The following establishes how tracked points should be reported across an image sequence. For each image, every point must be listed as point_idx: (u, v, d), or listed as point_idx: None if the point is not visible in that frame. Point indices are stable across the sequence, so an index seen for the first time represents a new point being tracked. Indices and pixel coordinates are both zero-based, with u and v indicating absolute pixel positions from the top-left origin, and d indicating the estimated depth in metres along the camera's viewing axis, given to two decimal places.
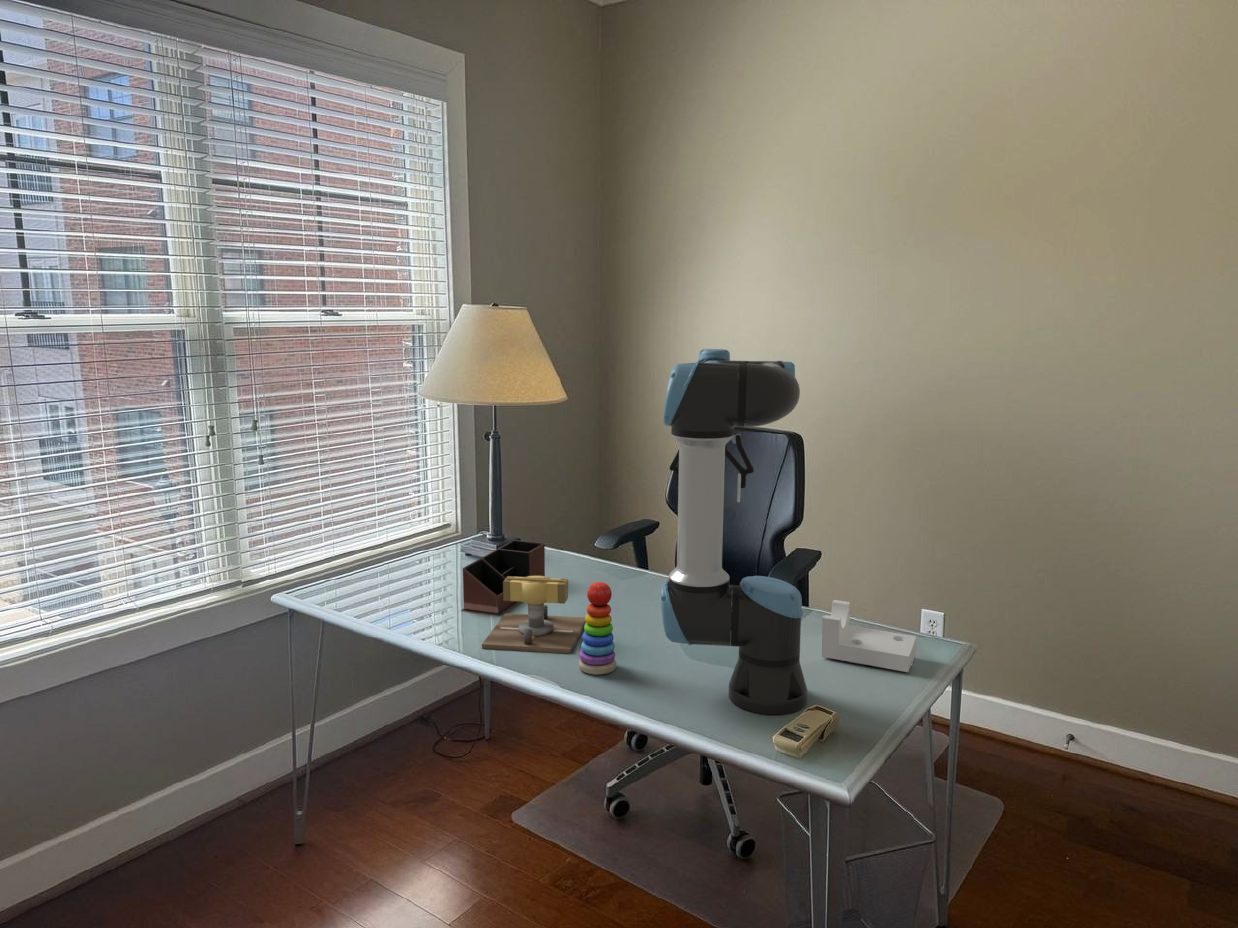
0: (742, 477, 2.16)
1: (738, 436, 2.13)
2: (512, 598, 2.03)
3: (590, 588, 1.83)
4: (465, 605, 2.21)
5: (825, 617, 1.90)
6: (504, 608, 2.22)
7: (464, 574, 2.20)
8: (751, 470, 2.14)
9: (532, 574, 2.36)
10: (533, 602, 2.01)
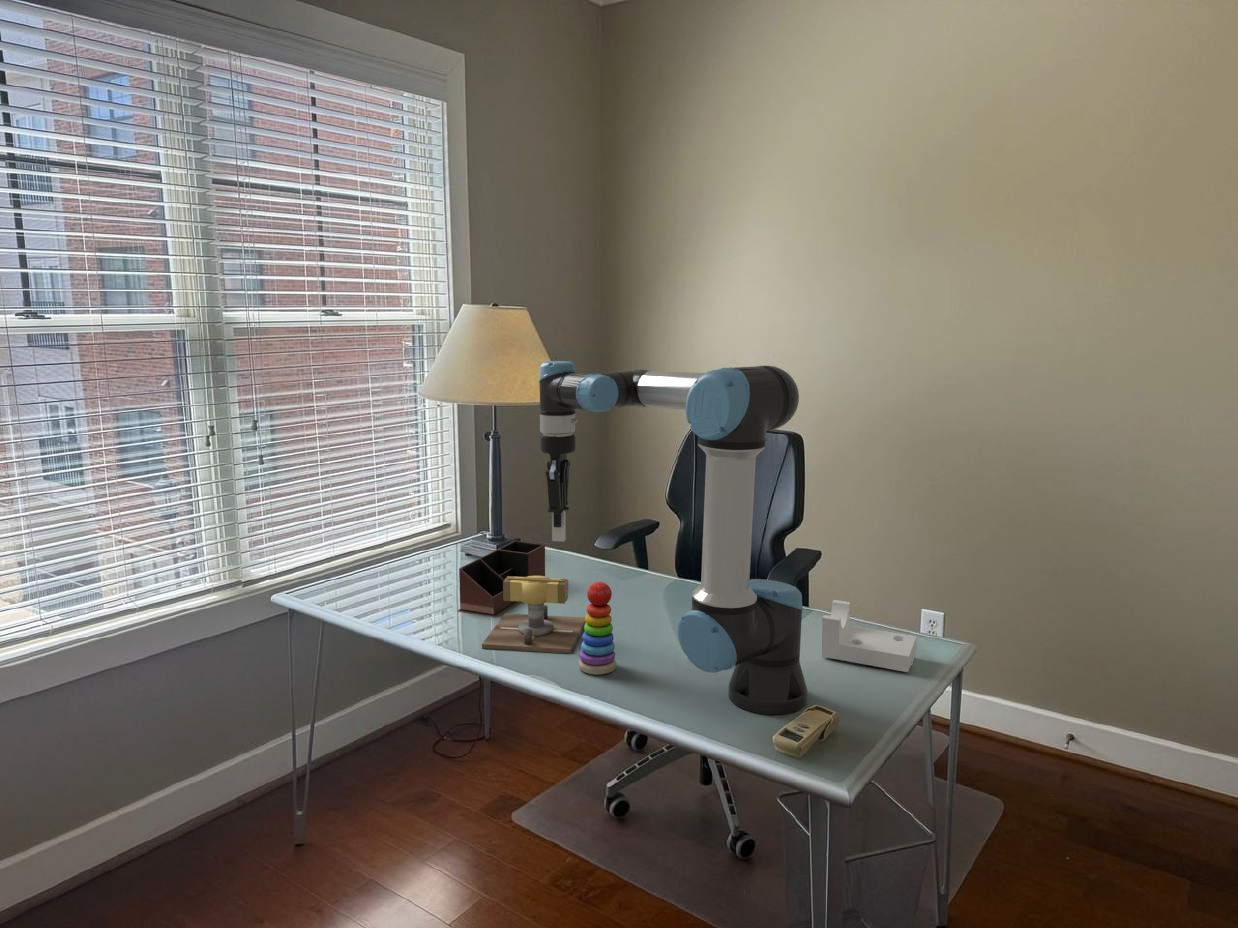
0: None
1: (546, 472, 1.87)
2: (512, 598, 2.03)
3: (590, 588, 1.83)
4: (461, 605, 2.21)
5: (825, 617, 1.90)
6: (500, 609, 2.21)
7: (460, 574, 2.19)
8: None
9: (531, 575, 2.35)
10: (533, 602, 2.01)
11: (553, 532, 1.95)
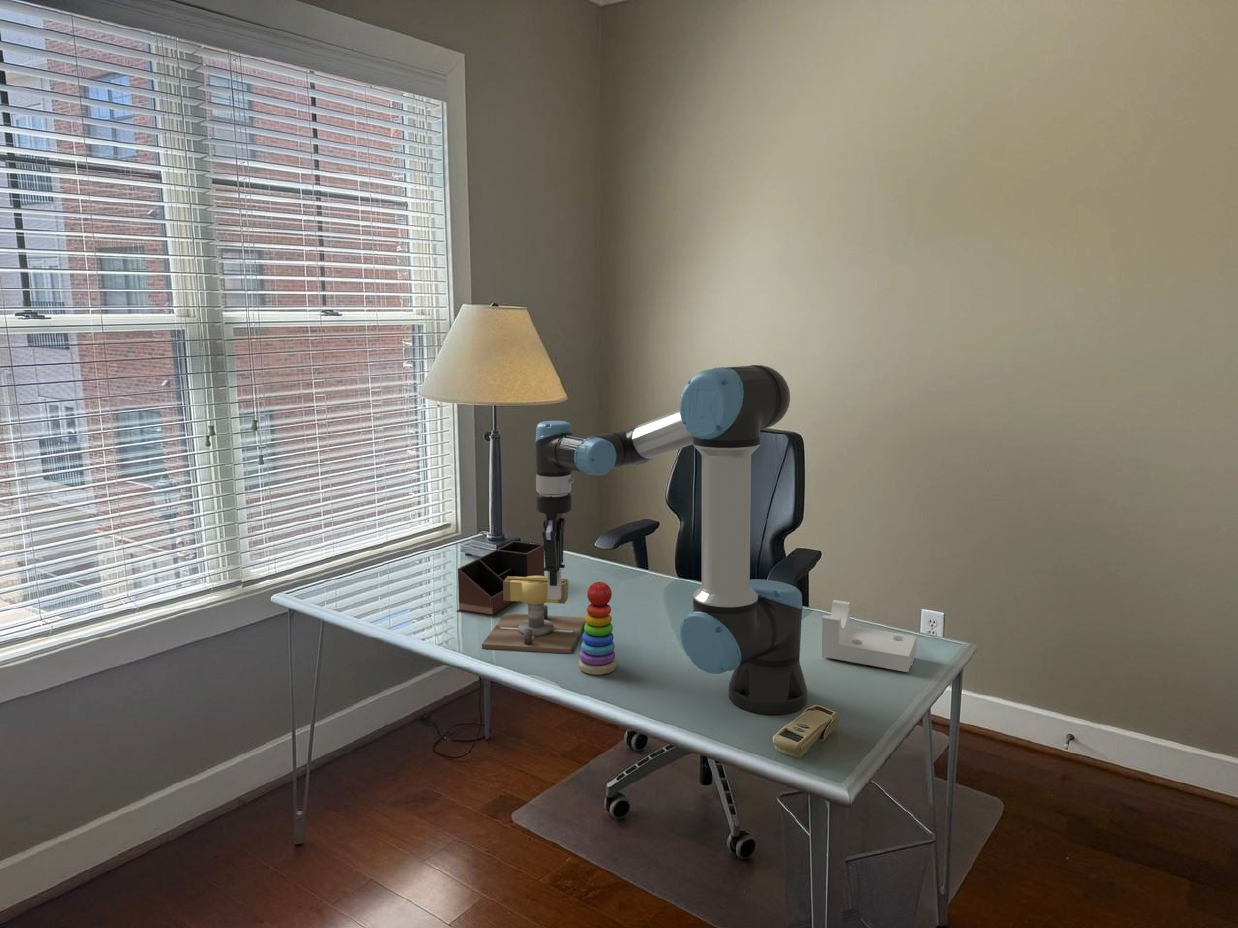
0: None
1: (542, 533, 1.87)
2: (512, 598, 2.03)
3: (590, 588, 1.83)
4: (460, 606, 2.20)
5: (825, 617, 1.90)
6: (499, 609, 2.21)
7: (459, 575, 2.19)
8: None
9: (530, 575, 2.35)
10: (533, 602, 2.01)
11: (549, 590, 1.95)
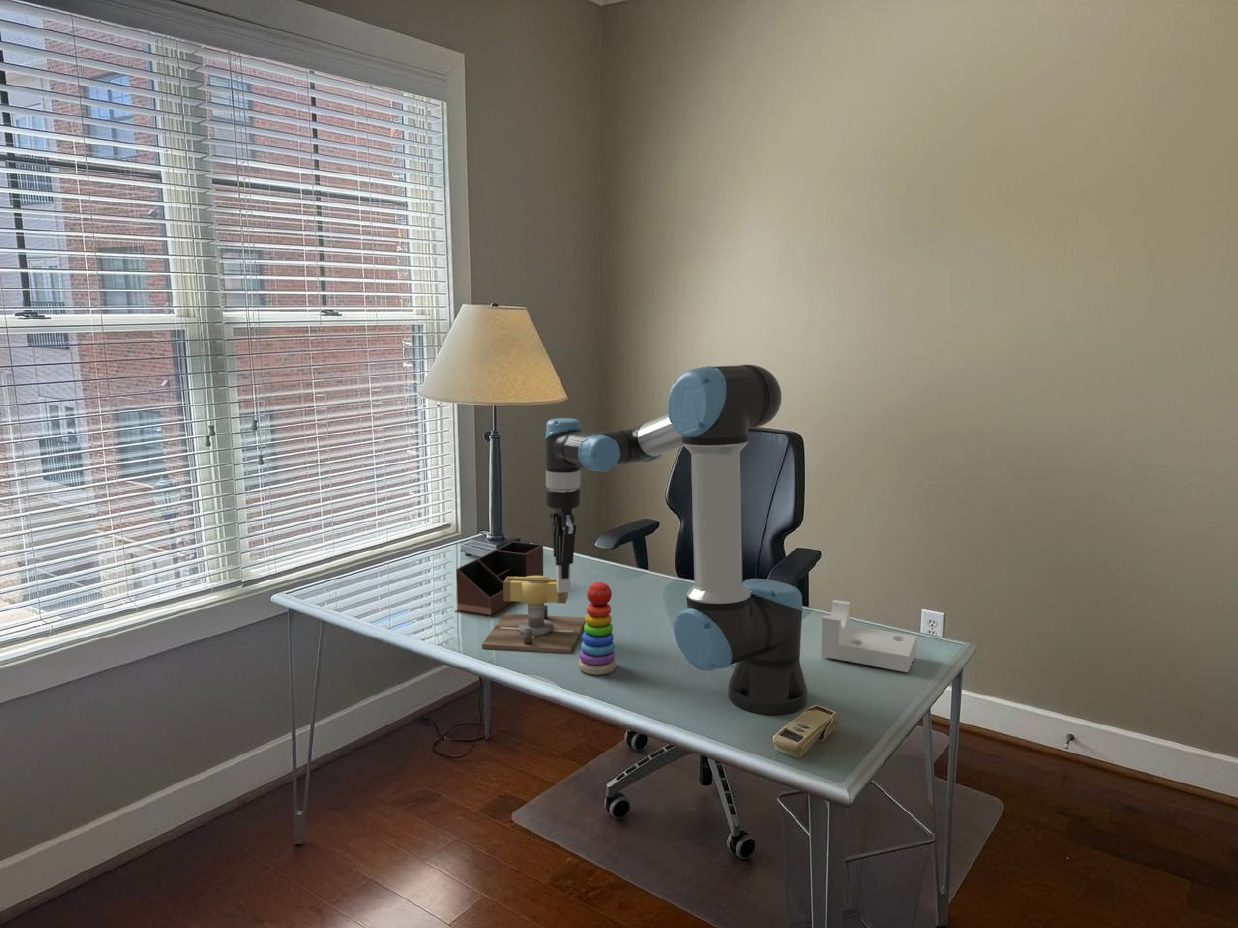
0: (561, 567, 1.99)
1: (565, 527, 1.92)
2: (512, 598, 2.03)
3: (590, 588, 1.83)
4: (459, 606, 2.20)
5: (825, 617, 1.90)
6: (498, 610, 2.20)
7: (458, 575, 2.19)
8: (561, 562, 1.96)
9: None
10: (534, 602, 2.01)
11: (559, 584, 2.00)
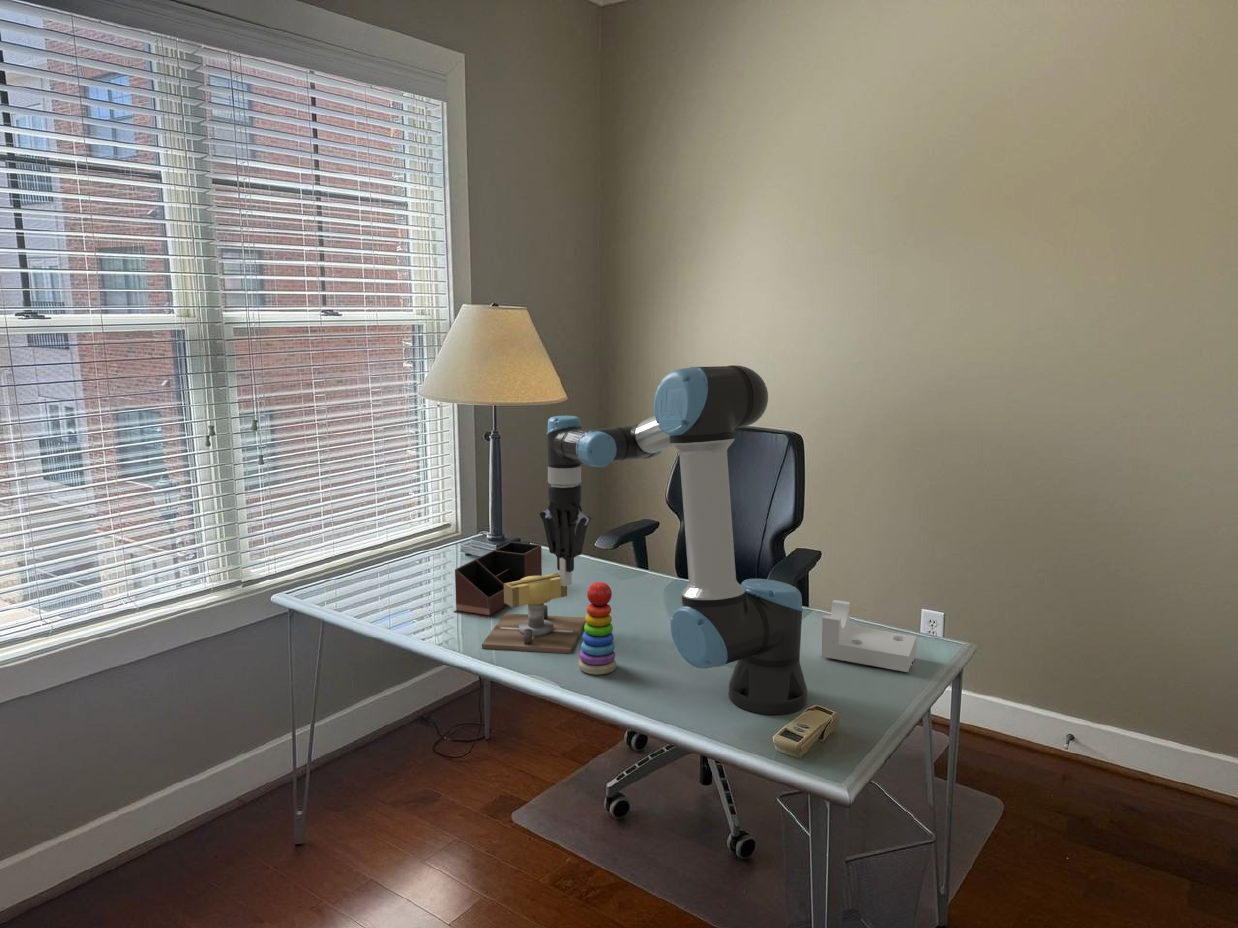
0: (567, 560, 2.04)
1: (583, 520, 1.99)
2: (520, 603, 2.00)
3: (590, 588, 1.83)
4: (457, 606, 2.20)
5: (825, 617, 1.90)
6: (496, 610, 2.20)
7: (456, 575, 2.18)
8: (573, 554, 2.02)
9: None
10: (544, 601, 2.02)
11: (565, 578, 2.05)
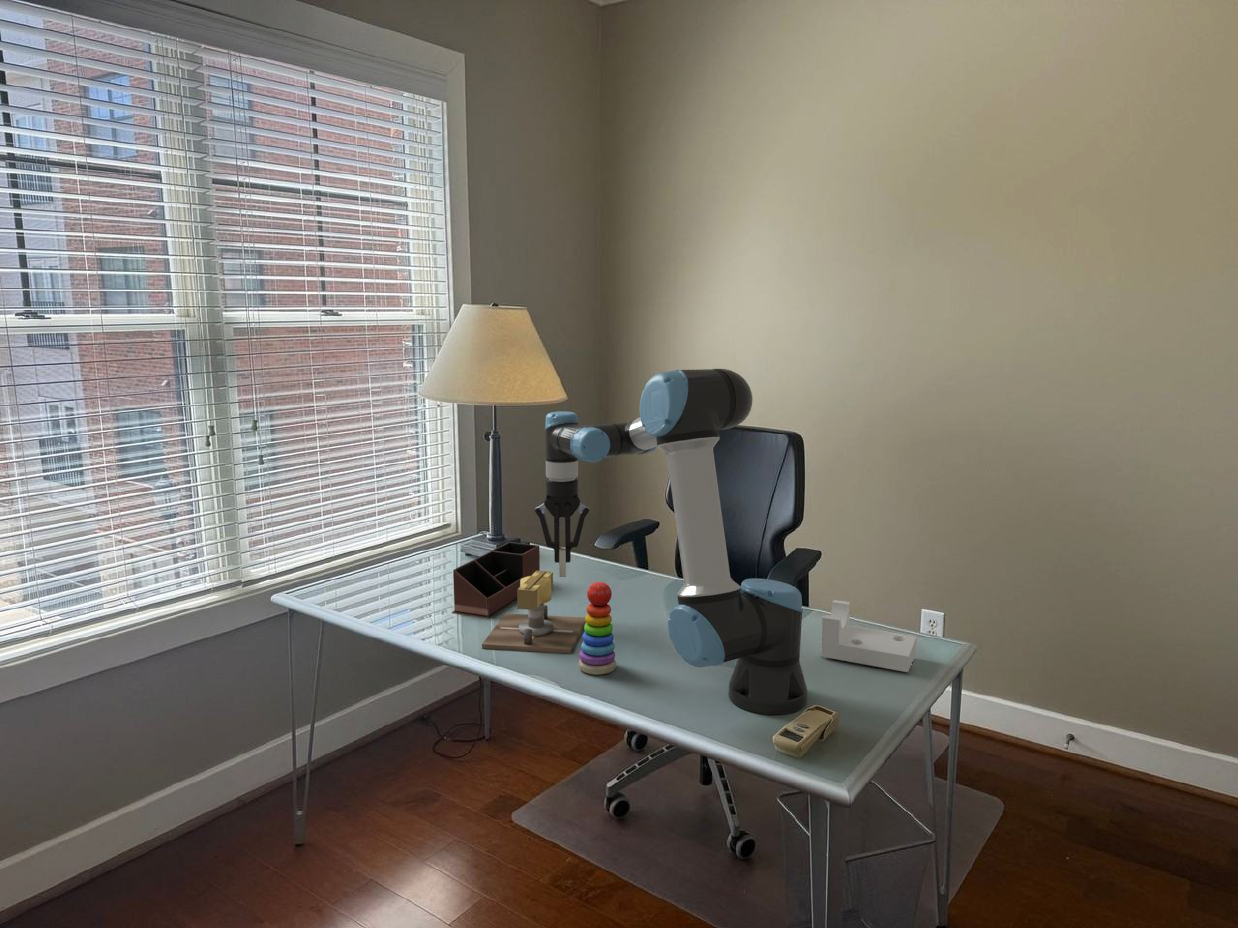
0: (567, 551, 2.11)
1: (587, 510, 2.08)
2: (537, 604, 1.99)
3: (590, 588, 1.83)
4: (456, 607, 2.19)
5: (825, 617, 1.90)
6: (495, 610, 2.20)
7: (454, 576, 2.18)
8: (576, 544, 2.10)
9: (526, 576, 2.34)
10: (550, 598, 2.04)
11: (565, 568, 2.11)
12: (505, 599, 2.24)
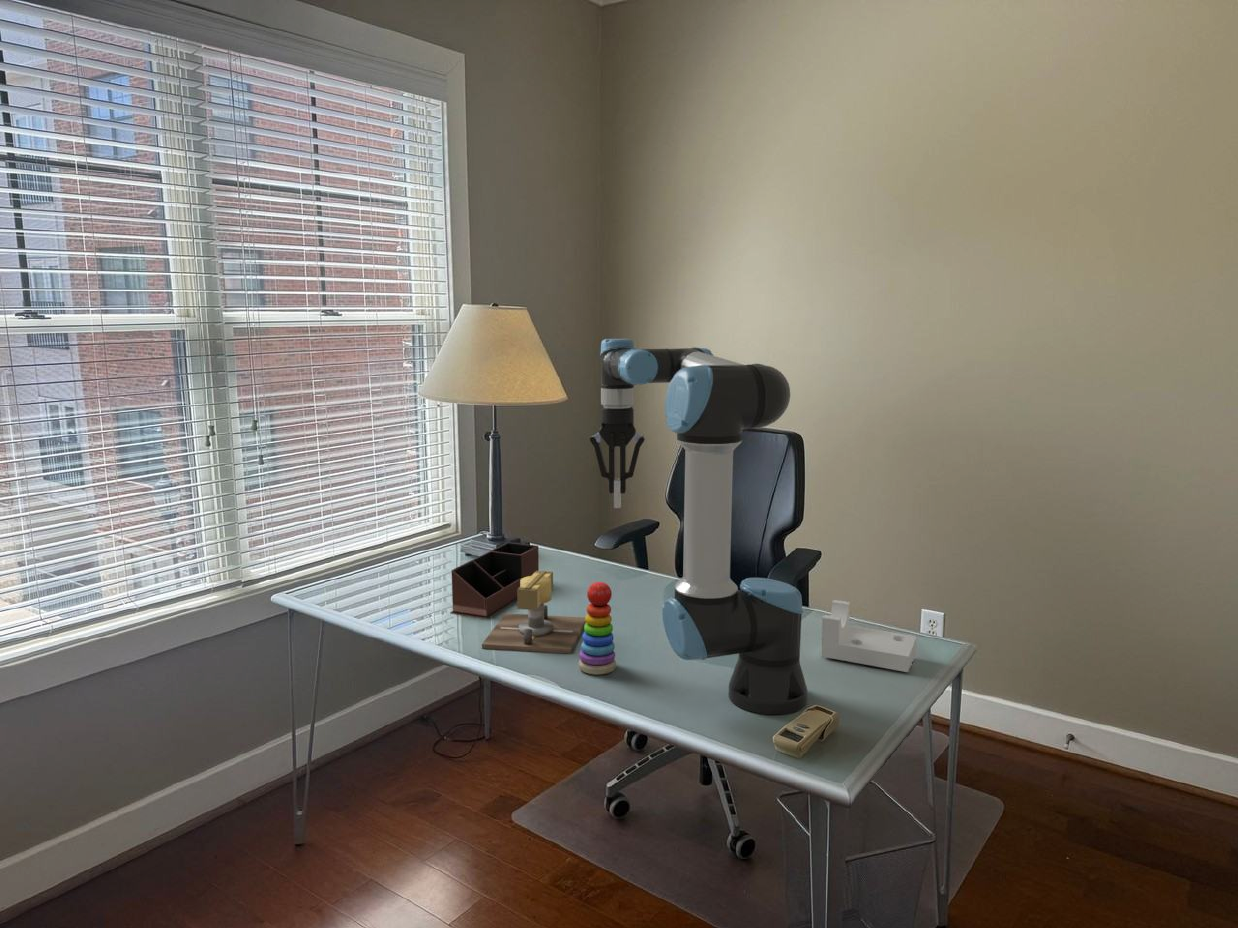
0: (622, 482, 2.07)
1: (642, 439, 2.05)
2: (537, 604, 1.99)
3: (590, 588, 1.83)
4: (454, 607, 2.19)
5: (825, 617, 1.90)
6: (493, 611, 2.19)
7: (453, 576, 2.18)
8: (631, 475, 2.06)
9: None
10: (550, 598, 2.04)
11: (620, 499, 2.08)
12: (504, 600, 2.24)
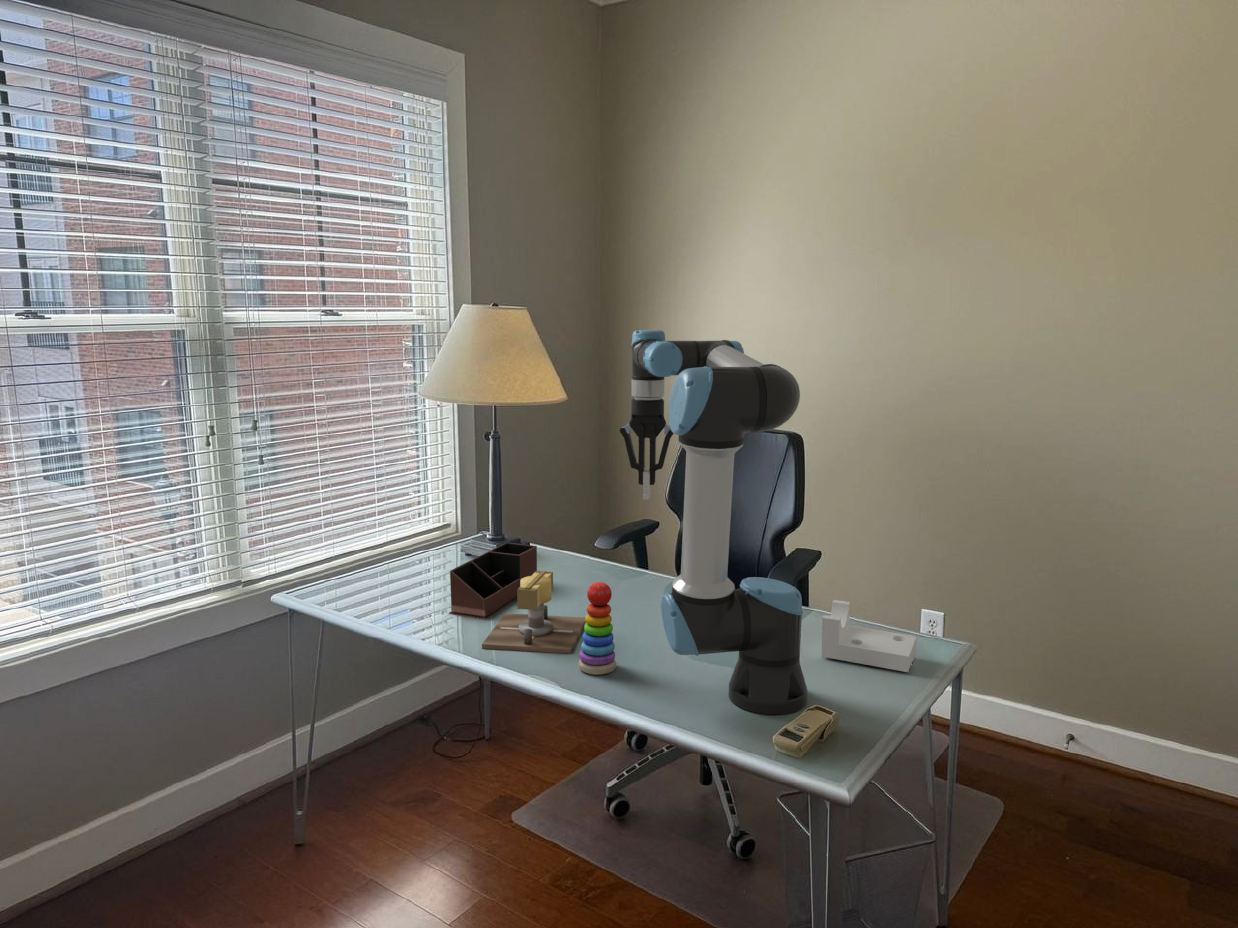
0: (651, 473, 2.07)
1: None
2: (537, 604, 1.99)
3: (590, 588, 1.83)
4: (453, 608, 2.19)
5: (825, 617, 1.90)
6: (492, 611, 2.19)
7: (451, 577, 2.17)
8: (660, 466, 2.06)
9: (523, 577, 2.34)
10: (550, 598, 2.04)
11: (649, 491, 2.08)
12: (502, 600, 2.24)
